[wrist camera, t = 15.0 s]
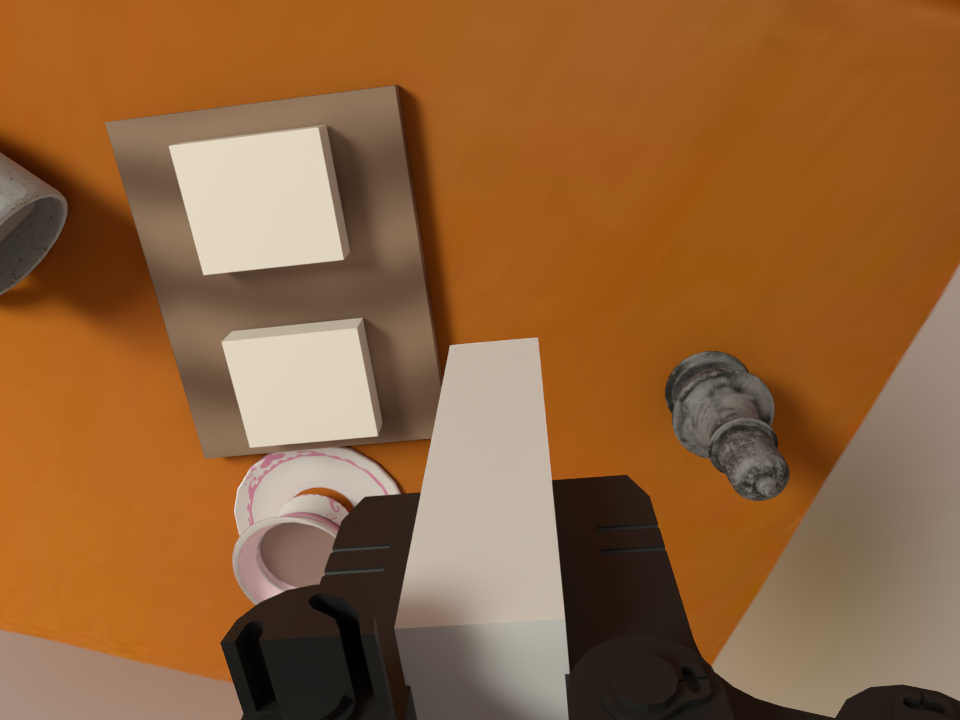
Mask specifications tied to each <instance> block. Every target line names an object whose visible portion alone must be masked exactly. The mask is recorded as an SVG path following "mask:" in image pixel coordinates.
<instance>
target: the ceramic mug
mask: <svg viewBox="0 0 960 720" xmlns="http://www.w3.org/2000/svg"><path fill="white" fill-rule="evenodd" d="M67 214H68V204H67V201H66V199H65V197H64V196H63V195H62V194H61V193H60V192H59V191H58V190H56V189H55V188H53V187H52V186H50V185H48V184H47V183H45V182H44V181H42V180H41V179H39V178H38V177H36V176H35V175H33V174H32V173H30V172H29V171H28V170H26V169H25V168H23V167H22V166H20V165H19V164H17V163H16V162H14V161H13V160H11V159H10V158H8V157H6V156H5V155H3V154H2V153H0V295H1V294H3V293H5V292H7V291H8V290H9V289H11V288H13V287H14V286H16V285H17V284H18V283H19V282H20V281H21V280H23V279H24V278H25V277H26V276H27V275H28V274H30V272H31V271H32V270H33V269H34V268H35V267H36V266H37V265H38V264H39V263H40V262H41V261H42V260H43V259H44V258H45V256H46V255H47V253H48V252H49V250H50V249H51V247H52V246H53V244H54V243H55V242H56V240H57V239H58V237H59V235H60V233H61V231H62V229H63V226H64V224H65V220H66V218H67Z"/></svg>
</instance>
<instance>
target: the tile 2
mask: <svg viewBox="0 0 960 720" xmlns="http://www.w3.org/2000/svg"><path fill="white" fill-rule="evenodd" d="M222 346H223V350H224V353H225V357H226V361H227V364H228V368H229V372H230V376H231V379H232V383H233V387H234V390H235V394H236V398H237V402H238V405H239V409H240V413H241V416H242V420H243V424H244V427H245V431H246V435H247V439H248V442H249V446H250V448H253V447H264V446H275V445H286V444H298V443H309V442H320V441H331V440H342V439H353V438H364V437H375V436H378V435H379V432H380V429H381V426H382V423H383V422H382V417H381V412H380V406H379V401H378V396H377V391H376V385H375V380H374V375H373V369H372V364H371V359H370V353H369V348H368V343H367V338H366V332H365V327H364V322H363V318H355V319H345V320H336V321H326V322H316V323H307V324H297V325H287V326H278V327H268V328H258V329H248V330H239V331H232V332H231V333H230V334H229V335H228V336H227V337H226V338H225V339H224V340H223V341H222Z"/></svg>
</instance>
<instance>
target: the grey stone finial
mask: <svg viewBox="0 0 960 720" xmlns="http://www.w3.org/2000/svg"><path fill="white" fill-rule="evenodd" d="M665 398H666V402H667V405H668V408H669V409H670V411H671V412H672V425H673V428H674V432H675V435H676V436H677V438H678V440H679V441H680V443H681V444H682V445H683V446H684V447H685V448H686V449H688V450H689V451H690V452H692V453H694V454H696V455H698V456H700V457H703V458H709V459H710V461H711V462H712V464H713V465H714V467H715V468H716V469H718V470H719V471H720V472H722V473H724V474H726V475H727V477H728V479H729V481H730V483H731V485H732V486H733V488H734V490H735V491H736V492H737V493H738V494H740V495H741V496H742V497H744V498H746V499H748V500H753V501H764V500H768V499H771V498H773V497H775V496H777V495H778V494H780V493H781V492H782V491H783V490H784V488H785V487H786V486H787V483H788V481H789V475H790V473H789V468H788V464H787V463H786V461H785V459H784V458H783V457H782V455H781V454H780V452H779V451H778V449H777V446H778V441H777V437H776V434H775V432H774V431H773V429H772V428H771V425H772V422H773V420H774V411H775V406H774V401H773V396H772V394H771V393H770V391H769V389H768V387H767V386H766V385H765V384H764V383H763V382H762V381H761V380H760V379H759V378H758V377H756V376H754V375H752V374H750V373H748V372H747V370H746V368H745V366H744V365H743V364H742V363H741V362H740V361H739V360H738V359H737V358H735V357H733V356H731V355H729V354H727V353H723V352H718V351H707V352H701V353H698V354H694V355H692V356H690V357H688V358H687V359H685V360H683V361H682V362H681V363H680V364H679V365H678V366H677V367H675V369H674V370H673V372H672V373H671V375H670V376H669V378H668V381H667V384H666V390H665Z"/></svg>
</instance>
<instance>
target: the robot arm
mask: <svg viewBox="0 0 960 720" xmlns="http://www.w3.org/2000/svg"><path fill="white" fill-rule="evenodd" d="M332 550H333V551H332V553H330V555H329V558H328V561H327V564H326V567H325V570H324V572H325V574H324V576H322V578H321V581H320V584H319V585H318V584H315V585H310V586H305V587H300V588H295V589H289V590H286V591H284V592H282V593H280V594H277V595H275V596H273V597H271V598H268V599H266V600H264V601H262V602H260V603H258V604H257V605H256V606H255V607H253V608H252V609H251V610H249V611H248V612H247V613H246V614H244V615H243V616H242V617H240V618H239V619H238V620H237V621H236V622H235V623H234V625H233V626H232V627H231V629H230V630H229V632H228V633H227V634H226V636H225V637H224V638H223V640H222V641H221V646H222V649H223V652H224V655H225V658H226V661H227V664H228V667H229V670H230V674H231V677H232V680H233V683H234V686H235V689H236V692H237V695H238V698H239V701H240V704H241V707H242V710H243V713H244V714H243V717H242V719H241V720H960V701H958V700H956V699H953V698H951V697H949V696H947V695H945V694H943V693H940V692H937V691H932V690H927V689H922V688H917V687H912V686H907V685H892V686H879V687H870V688H868V689H866V690H864V691H862V692H860V693H858V694H857V695H854V696H853V697H851V698H849V699H847V700H846V701H845V703H844V705H843V706H842V708H841V710H840V711H839V713H838V715H837V716H836V718H832V717H827V716H823V715H818V714H813V713H809V712H804V711H800V710H796V709H791V708H786V707H782V706H779V705H775V704H772V703H769V702H766V701H763V700H759V699H756V698H754V697H752V696H750V695H748V694H746V693H744V692H742V691H741V690H739V689H737V688H735V687H733V686H732V685H730V684H729V683H728V682H727V681H725V680H724V679H723V678H721V677H720V676H719V675H718V674H716V673H715V672H714V670H713V669H712V667H711V665H709V664H708V663H707V662H706V661H705V660H704V659H703V658H702V656H701V654H700V652H699V650H698V648H697V646H696V644H695V642H694V639H693V636H692V632H691V629H690V626H689V623H688V619H687V616H686V613H685V610H684V606H683V603H682V600H681V597H680V594H679V590H678V587H677V584H676V581H675V577H674V574H673V571H672V568H671V564H670V561H669V558H668V555H667V551H665V545H664V542H663V539H662V535H661V532H660V529H659V528H658V522H657V519H656V516H655V513H654V509H653V506H652V503H651V500H650V497H649V495H648V494H647V493H645V492H644V491H643V490H642V489H641V488H640V487H639V486H638V485H637V484H636V483H635V482H634V481H633V480H631V479H630V478H629V477H628V476H627V475H618V476H605V477H591V478H577V479H563V480H552V478H551V468H550V458H549V447H548V437H547V427H546V416H545V406H544V396H543V385H542V375H541V365H540V354H539V344H538V337H537V338H526V339H515V340H503V341H492V342H481V343H469V344H458V345H450V348H449V353H448V358H447V363H446V368H445V373H444V378H443V383H442V388H441V393H440V399H439V404H438V409H437V414H436V419H435V424H434V429H433V434H432V439H431V444H430V449H429V454H428V460H427V465H426V470H425V475H424V480H423V485H422V490H421V493H408V494H394V495H380V496H366V497H364V498H363V499H362V500H361V501H360V502H359V503H358V504H357V505H356V506H355V507H354V508H353V509H352V510H351V511H350V513H349V514H348V515H347V516H346V517H345V518H344V519H343V520H342V521H341V524H340V527H339V530H338V533H337V536H336V538H335V541H334V544H333V547H332Z"/></svg>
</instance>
